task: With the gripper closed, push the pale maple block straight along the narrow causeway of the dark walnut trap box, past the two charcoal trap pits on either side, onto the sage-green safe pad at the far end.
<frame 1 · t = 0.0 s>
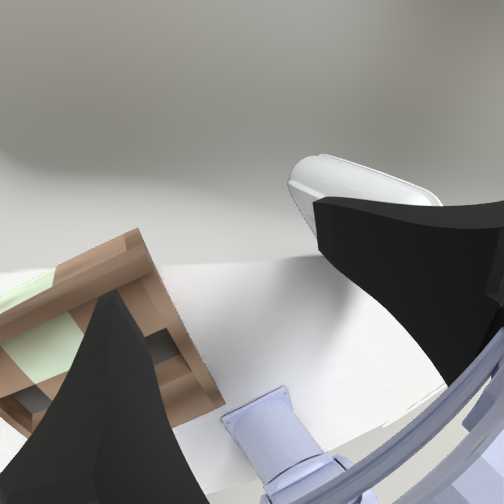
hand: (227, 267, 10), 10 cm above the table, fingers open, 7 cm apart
trap box: (83, 368, 21), on the table
photo printer: (324, 209, 25), on the table
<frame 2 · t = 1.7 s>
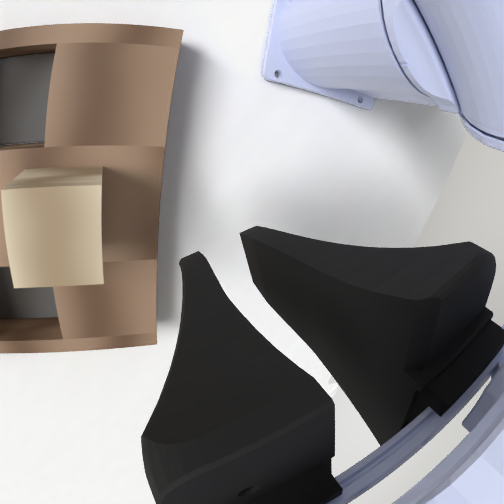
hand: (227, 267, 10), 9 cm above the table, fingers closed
trap box: (13, 197, 14), on the table
maple block: (63, 207, 13), point 2 cm above the table, touching trap box
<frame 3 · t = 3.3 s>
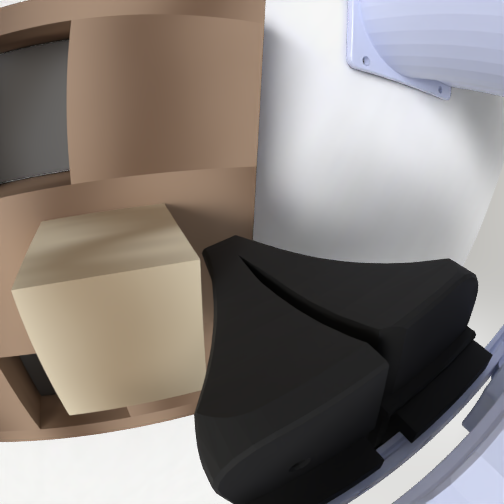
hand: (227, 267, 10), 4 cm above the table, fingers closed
trap box: (31, 253, 10), on the table
maple block: (110, 269, 10), point 3 cm above the table, touching gripper, trap box
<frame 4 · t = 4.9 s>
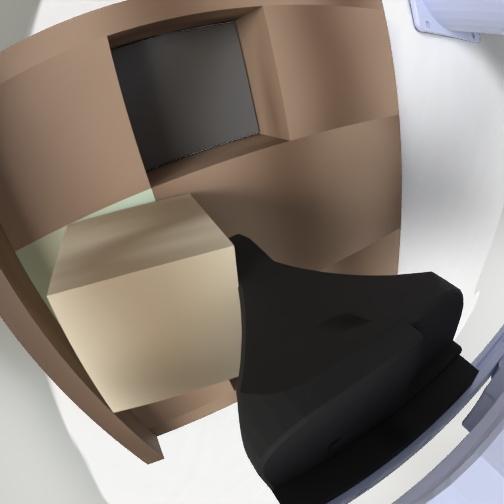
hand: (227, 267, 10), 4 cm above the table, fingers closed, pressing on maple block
trap box: (220, 217, 14), on the table
maple block: (141, 264, 10), point 3 cm above the table, touching gripper, trap box
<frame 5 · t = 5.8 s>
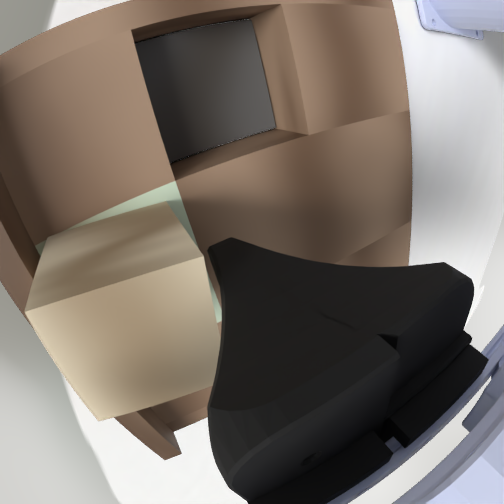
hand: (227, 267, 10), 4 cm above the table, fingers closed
trap box: (238, 210, 14), on the table
maple block: (122, 273, 10), point 2 cm above the table, touching gripper, trap box
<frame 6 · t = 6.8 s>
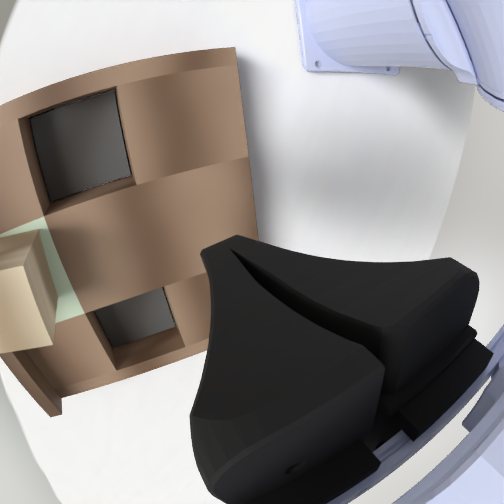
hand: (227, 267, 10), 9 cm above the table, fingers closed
trap box: (105, 236, 17), on the table
maple block: (16, 271, 13), point 2 cm above the table, touching trap box
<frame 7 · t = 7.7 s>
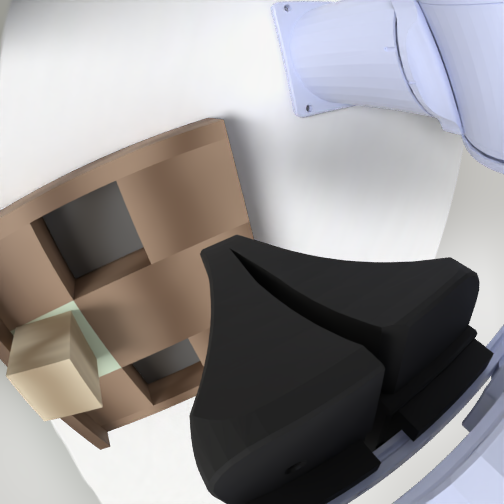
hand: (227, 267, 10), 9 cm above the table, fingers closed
trap box: (129, 299, 20), on the table
maple block: (56, 344, 16), point 2 cm above the table, touching trap box
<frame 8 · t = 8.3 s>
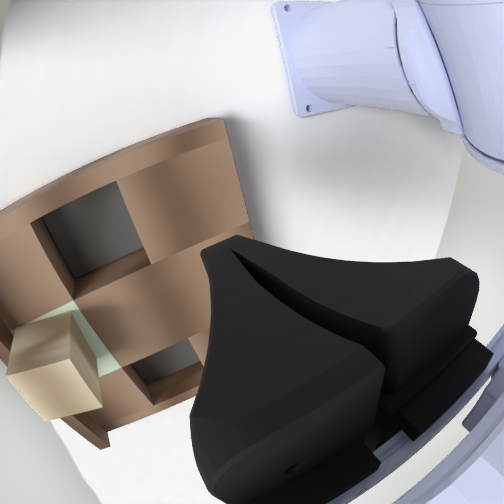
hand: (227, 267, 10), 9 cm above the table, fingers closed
trap box: (129, 299, 20), on the table
maple block: (56, 344, 16), point 2 cm above the table, touching trap box
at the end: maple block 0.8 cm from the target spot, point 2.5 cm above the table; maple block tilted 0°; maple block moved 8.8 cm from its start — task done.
